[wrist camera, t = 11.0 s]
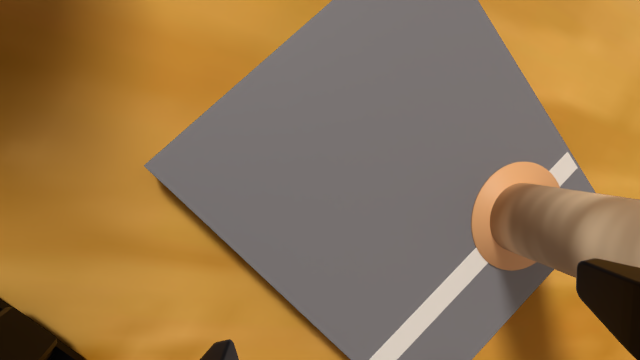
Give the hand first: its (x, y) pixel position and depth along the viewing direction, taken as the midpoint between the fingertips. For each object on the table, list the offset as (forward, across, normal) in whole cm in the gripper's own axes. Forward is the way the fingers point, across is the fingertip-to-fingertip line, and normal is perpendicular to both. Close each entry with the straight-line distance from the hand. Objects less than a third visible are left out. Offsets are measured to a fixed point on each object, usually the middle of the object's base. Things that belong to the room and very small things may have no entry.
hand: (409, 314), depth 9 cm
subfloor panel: (+12, -4, +1) cm, 13 cm away
